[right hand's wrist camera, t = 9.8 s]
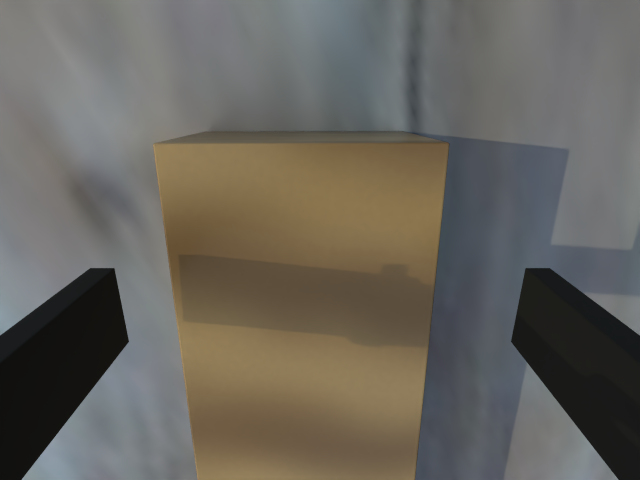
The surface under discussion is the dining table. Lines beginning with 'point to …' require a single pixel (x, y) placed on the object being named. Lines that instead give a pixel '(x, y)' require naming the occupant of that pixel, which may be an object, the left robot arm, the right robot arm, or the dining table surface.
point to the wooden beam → (303, 297)
